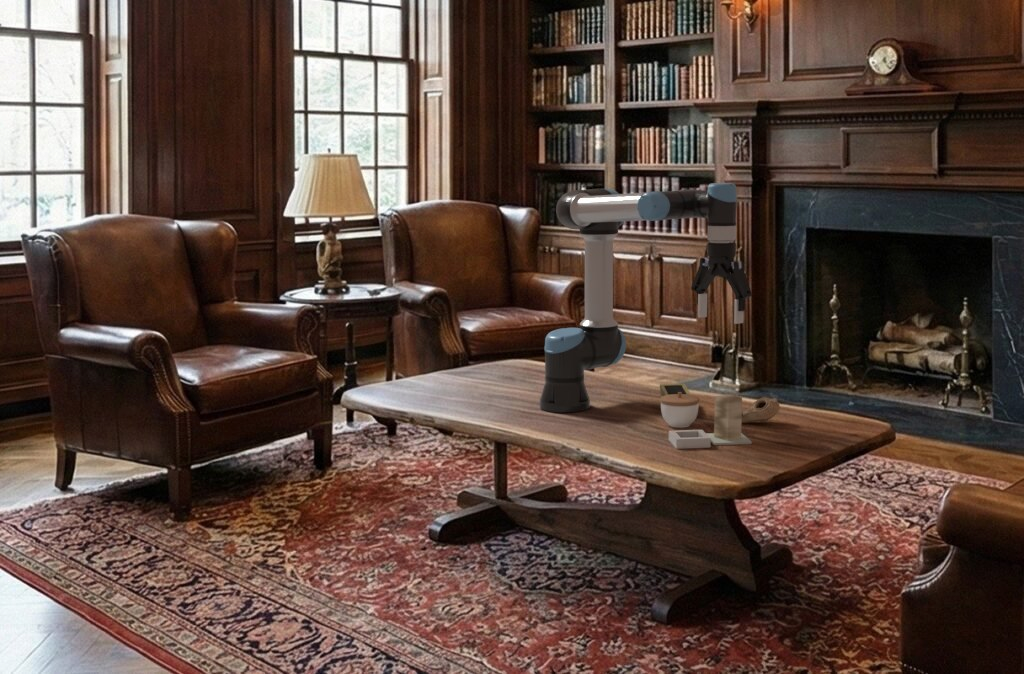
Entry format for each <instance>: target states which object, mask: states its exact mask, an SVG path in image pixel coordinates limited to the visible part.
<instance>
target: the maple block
mask: <svg viewBox="0 0 1024 674" xmlns="http://www.w3.org/2000/svg"><path fill="white" fill-rule="evenodd" d="M742 408H743V397H742V396H737V395H733V394H729V393H727V394H722V395H717V396H714V415H713V416H714V423H713V425H714V427H713V433H714V437H716V438H719V439H723V440H726V441H729V440H734V439H738V438H741V433H742V423H741V422H742V411H743V410H742Z"/></svg>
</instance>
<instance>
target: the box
mask: <svg viewBox="0 0 1024 674" xmlns="http://www.w3.org/2000/svg"><path fill="white" fill-rule="evenodd" d="M659 391H660V392H659V393H660V394H659V395H660V396H661V397H662V396H665V395H670V394H678V392H682V394H687V395H692V394H691V393H690V390H689V389H688V387H687V385H686V384H685V383H663V384H662V383H661V384H659ZM661 397H660V398H661Z"/></svg>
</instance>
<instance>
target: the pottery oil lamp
mask: <svg viewBox="0 0 1024 674" xmlns="http://www.w3.org/2000/svg"><path fill="white" fill-rule="evenodd" d="M780 408H781V406H780V403H779V402H778V399H777V398H776V397H775V398H771V397H760V398H758V399H757V400H756V401H754V402H753V403H752V404H751V405H750V406H748V407H747V408H745V409H743V410H742V422H741V424H749V423H754V422H763V423H764V422H767V421H769V420H771V419H772V418H774V417H775V416H776V415H777V414H778V413H779V411H780Z"/></svg>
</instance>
